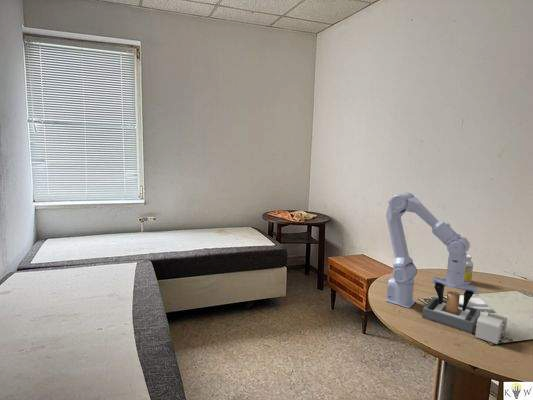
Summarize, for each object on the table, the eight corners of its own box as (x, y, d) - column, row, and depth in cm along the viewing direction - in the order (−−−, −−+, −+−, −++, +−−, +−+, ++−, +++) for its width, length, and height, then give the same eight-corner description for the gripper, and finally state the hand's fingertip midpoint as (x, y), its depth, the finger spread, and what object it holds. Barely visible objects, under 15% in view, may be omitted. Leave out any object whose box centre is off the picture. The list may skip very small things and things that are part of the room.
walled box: (422, 317, 127) (423, 308, 126) (433, 305, 137) (434, 296, 137) (471, 333, 116) (473, 323, 116) (479, 318, 127) (480, 309, 126)
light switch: (449, 291, 145) (482, 292, 142) (449, 300, 145) (482, 301, 143) (458, 302, 134) (495, 303, 132) (458, 312, 135) (494, 313, 132)
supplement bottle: (451, 279, 165) (454, 253, 163) (462, 278, 167) (465, 252, 165) (463, 285, 159) (466, 258, 157) (474, 283, 161) (477, 257, 159)
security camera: (483, 309, 120) (477, 319, 113) (507, 316, 115) (502, 327, 108) (481, 326, 121) (474, 337, 114) (505, 334, 116) (500, 346, 109)
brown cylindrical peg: (443, 316, 127) (446, 293, 125) (446, 313, 130) (448, 290, 128) (455, 320, 124) (458, 296, 123) (458, 316, 127) (460, 293, 126)
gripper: (431, 268, 126) (427, 304, 128) (476, 279, 117) (472, 317, 119) (436, 264, 131) (433, 298, 133) (480, 273, 122) (476, 310, 124)
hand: (452, 306), depth 126 cm, fingers open, 7 cm apart
